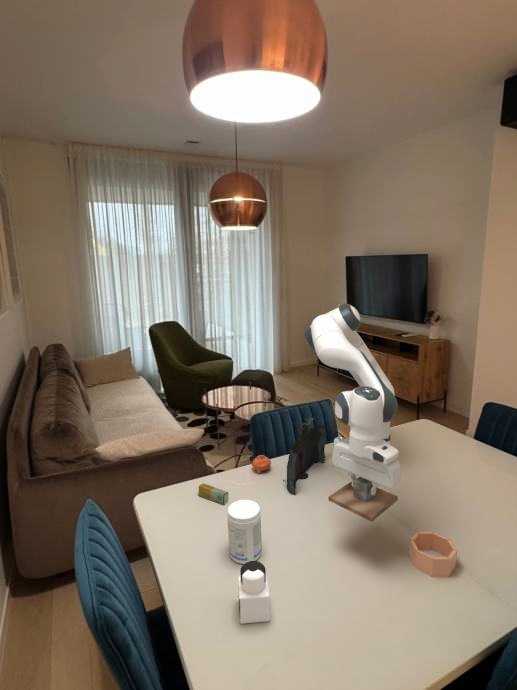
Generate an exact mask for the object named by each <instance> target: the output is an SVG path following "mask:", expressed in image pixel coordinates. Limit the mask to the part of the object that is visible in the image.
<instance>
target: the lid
mask: <svg viewBox="0 0 517 690" xmlns="http://www.w3.org/2000/svg"><path fill="white" fill-rule="evenodd" d="M356 478H357V479H355V480H354V487H352V481H351V480H350V482H348V483H347V484H345V485H344V486H342V487H341V488H339V489H338V490H336V491H335V492H333V493H331V494H330V495H329V496H328V498H327V499H328V501H329V502H330V503H333V504H335V505H337V506H338V507H340V508H343V509H345V510H347V511H349V512H351V513H353V514H355V515H357V516H359V517H360V518H363V519H365V520H367V521H369V522H370V523H373V522H374V521H375V520H376V519H377V518H378V517H379V516H381V515H382V514H383V513H384V512H386V511H387V510H388V509H389V508H391V507H392V506H393V505H394V504H395V503H396V502H398V501H399V499H398V498H399V496H398V495H396V494H393V493H391V492H388V491H386V490H384V489H381V488H379V487H377V488H376V494H375V495H374V496H373V495H371V494H368V492H369V491H368V488H370V487H371V486H374V485H372V481H369V480H367V479H364V478H362V477H360V476H357V477H356Z"/></svg>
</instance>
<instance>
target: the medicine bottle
mask: <svg viewBox="0 0 517 690" xmlns="http://www.w3.org/2000/svg"><path fill="white" fill-rule="evenodd" d="M266 572H267V569H266V566H265V565H264V564H263V563H262V562H260V561H257V560H256V561H249V562H246V563H245V564H243V565H241V568H240V575H238V577H237V581H238V582H237V583H238V584H237V585H238V587H237V588H238V613H239V614H238V615H239V624H241V625H242V624H252V623H253V624H255V623H265V622H270V620H271V609H270V608H271V607H270V603H271V601H270V599H271V597H270V591H269V590H270V589H269V582H268V575H267V573H266Z"/></svg>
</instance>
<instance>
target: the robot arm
mask: <svg viewBox="0 0 517 690" xmlns="http://www.w3.org/2000/svg"><path fill="white" fill-rule="evenodd" d="M361 322H362V320H361V315H360V313H359V311H358V310H357V309H356V307H354V306H353V305H352V304H349V303H344V304H341V305H338V307H337V308H334V309H331V311H328V312H326V313H325V314H320V315H318V316H317V317H315V318H314V319H313V320H312V322H311V324H309V325H307V327H306V328H305V329H304V332H303V337H304V339H305V342H306V344H307V345H308V347H310V349H312V350H314V351H315V352H316V355H317V357H318V359H319V360H320V362H321V363H322V364H324V365H326V366H328V367H330V368H334V369H340V370H344V371H348V372H349V373H350V374H351V376H352V377H353V378H354V380H355V381H356V383H357V384H358V386H357V387H355V388H354V389H353V390H346V391H342V392H339V393H338V394H337V395H336V397H335V399H334V401H333V412H334V417H335V418H336V419H337V420H338V421H339V422H341V423H342V424H344V425H346V426H349V428H350V431H349V433H348V434H349V438H346V437H343V436H341V435H339V436H337V437H335V438H334V440H333V450H332V457H331V463H332V464H333V465H332V466H334V467H336V468H337V469H340V470H344V471H346V472H347V473H348V477H349V479H350V482H351V481H352V487H354V480H355V479H357V478H358V477H362V478H364V479H367V480H369V481H372V485H374V486H371V487H370V488H368V491H369V492H368V494H371V495H373V496H374V495H375V494H376V488H379V487H380V486H382V487H384V488H386V489H388V490H391V491H393V490H394V489H396V488H397V487H398V486H399V485H400V484H401V479H402V478H401V471H402V470H401V464H400V461H399V459H398V457H399V456H400V452H399V451H400V450H398V449H397V447H395V446H393V445H391V434H390V432H391V431H390V430H391V421H392V419H394V418H395V416H396V414H397V412H398V407H399V406H398V404H399V403H398V400H397V398H396V396H395V395H396V394H395V389H394V387H393V385H392V383H391V382H390V379H389V378H388V377H387V375H386V373H385V372H384V371H383V370H382V368H381V366H380V365H379V363H378V361H377V359H376V358H375V357H374V355H373V354H372V352H371V351H370V349H369V348H368V346H367V345H366V343H365V342H364V340H363V339H362V337H361V336H360V334H359V333H358V329H359V328H360V326H361V324H362V323H361Z"/></svg>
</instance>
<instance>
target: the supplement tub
mask: <svg viewBox="0 0 517 690" xmlns="http://www.w3.org/2000/svg"><path fill="white" fill-rule="evenodd" d="M226 515H227V533H228V536H227V537H228V552H229V556H230V558H231V560H233V561H234V562H236V563H237V564H243V565H244V564H245V563H246V562H249V561H257V560H258V559H259V558H260V557H261V555H262V551H263V550H262V549H263V543H262V519H261V518H262V515H261V508H260V505H259V504H258V503H257V502H256V501H254V500H250V499H239V500H237V501H233V502H232V503H230V505H229V506H228V507H227V514H226Z"/></svg>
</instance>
